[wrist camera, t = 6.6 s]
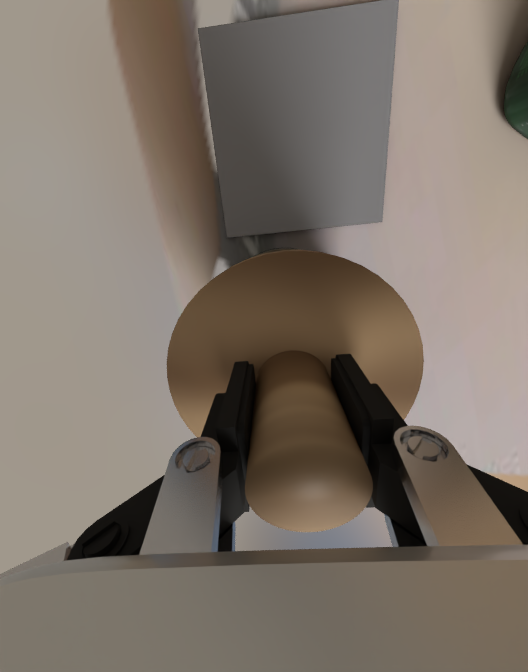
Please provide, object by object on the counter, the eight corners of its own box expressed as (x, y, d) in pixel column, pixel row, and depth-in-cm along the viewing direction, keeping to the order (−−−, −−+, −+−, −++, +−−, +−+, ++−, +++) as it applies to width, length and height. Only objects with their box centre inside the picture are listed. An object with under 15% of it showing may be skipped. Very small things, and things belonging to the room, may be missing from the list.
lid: (148, 263, 10) (2, 295, 5) (427, 236, 10) (645, 236, 4) (198, 463, 14) (151, 609, 9) (397, 454, 14) (486, 605, 8)
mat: (200, 35, 16) (197, 28, 15) (394, 6, 15) (398, -3, 15) (228, 237, 20) (226, 237, 20) (379, 222, 20) (382, 222, 19)
